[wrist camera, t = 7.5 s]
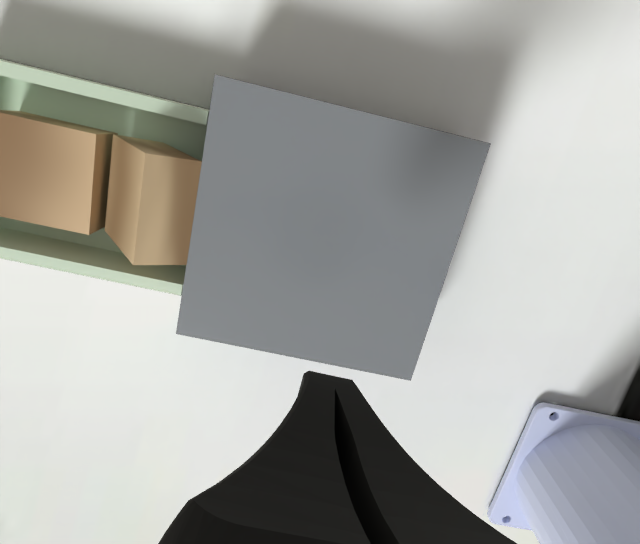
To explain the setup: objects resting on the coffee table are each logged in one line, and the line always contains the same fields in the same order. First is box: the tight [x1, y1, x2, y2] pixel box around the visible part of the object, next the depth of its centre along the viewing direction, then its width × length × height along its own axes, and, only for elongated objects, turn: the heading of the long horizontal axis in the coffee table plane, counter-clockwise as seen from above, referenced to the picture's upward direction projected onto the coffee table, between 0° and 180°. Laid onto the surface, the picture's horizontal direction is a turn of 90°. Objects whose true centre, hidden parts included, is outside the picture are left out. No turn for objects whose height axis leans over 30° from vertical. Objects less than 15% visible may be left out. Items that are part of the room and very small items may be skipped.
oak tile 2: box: [0, 110, 118, 235], centre depth 19 cm, size 4×4×2 cm
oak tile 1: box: [105, 134, 202, 265], centre depth 18 cm, size 4×4×2 cm
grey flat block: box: [176, 75, 490, 381], centre depth 19 cm, size 10×10×4 cm
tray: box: [0, 59, 210, 296], centre depth 19 cm, size 10×8×2 cm
